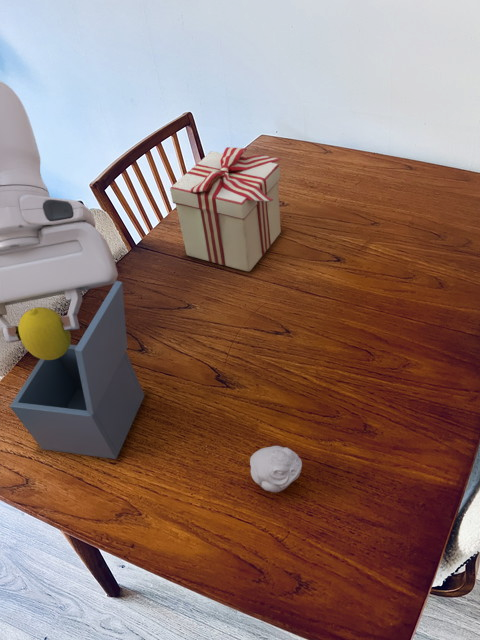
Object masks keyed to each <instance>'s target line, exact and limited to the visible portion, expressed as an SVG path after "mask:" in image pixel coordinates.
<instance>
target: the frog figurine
mask: <svg viewBox="0 0 480 640" xmlns="http://www.w3.org/2000/svg"><path fill="white" fill-rule="evenodd" d="M249 465H250V475H251V478H252V480H253V481H254V482H255V483H256V484H257V485H258V486H260V488H261V489H263V490H264V491H266V492H271V493H279V492H282V491H284V490H286V489H287V488H288V487H289V486H290V484H291V483H293V482H294V481H296V480H297V479H298V478H299V477H300V474H301V473H302V467H303V462H302V459H301V458H300V457H299V455H298V454H297V453H296V452H295V451H293V450H292V449H291V448H289V447H287V446H286V447H285V446H284V447H283V446H281V445H272V446H267V447H263V448H260V449H258V450H257V451H255V452H253V454H252V455H251V456H250V459H249Z"/></svg>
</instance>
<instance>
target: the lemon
mask: <svg viewBox="0 0 480 640" xmlns="http://www.w3.org/2000/svg"><path fill="white" fill-rule="evenodd" d="M61 316H62V315H60V314H59V313H58V312H57V311H55V310H54V309H52V308H48V307H44V306H37V307H33V308H30V309H28V310H27V311H26V312H24V313H23V314H22V316H21V317H20V319H19V321H18V325H17V326H18V331H19V335H20V338H21V341H20V342H21V343H22V345H23V347H24V348H25V349H26V350H27V351H28V352H29V354H31V355H32V356H33V357H35V358H37V359H39V360H40V359H44V360H53V359H57V358H59V357H61V356H62V355H64V354H65V353H66V351H67V350H68V348H69V346H70V345H71V343H72V342H71V341H72V336H71V331H65V330H64V328H63V324H64V323H63V322H62V320H61Z"/></svg>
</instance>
